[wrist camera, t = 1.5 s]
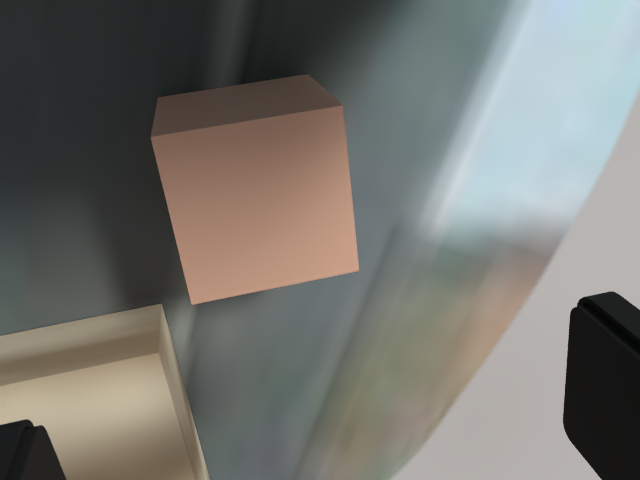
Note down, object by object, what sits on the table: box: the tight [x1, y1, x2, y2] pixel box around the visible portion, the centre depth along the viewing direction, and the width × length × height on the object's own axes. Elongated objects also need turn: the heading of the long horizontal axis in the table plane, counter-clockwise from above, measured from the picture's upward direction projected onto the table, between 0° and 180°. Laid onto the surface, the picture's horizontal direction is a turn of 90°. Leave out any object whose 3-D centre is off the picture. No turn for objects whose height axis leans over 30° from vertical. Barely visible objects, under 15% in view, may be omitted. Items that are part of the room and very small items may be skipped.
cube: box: [151, 74, 359, 305], centre depth 21 cm, size 6×6×6 cm
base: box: [0, 303, 210, 480], centre depth 25 cm, size 11×11×4 cm
